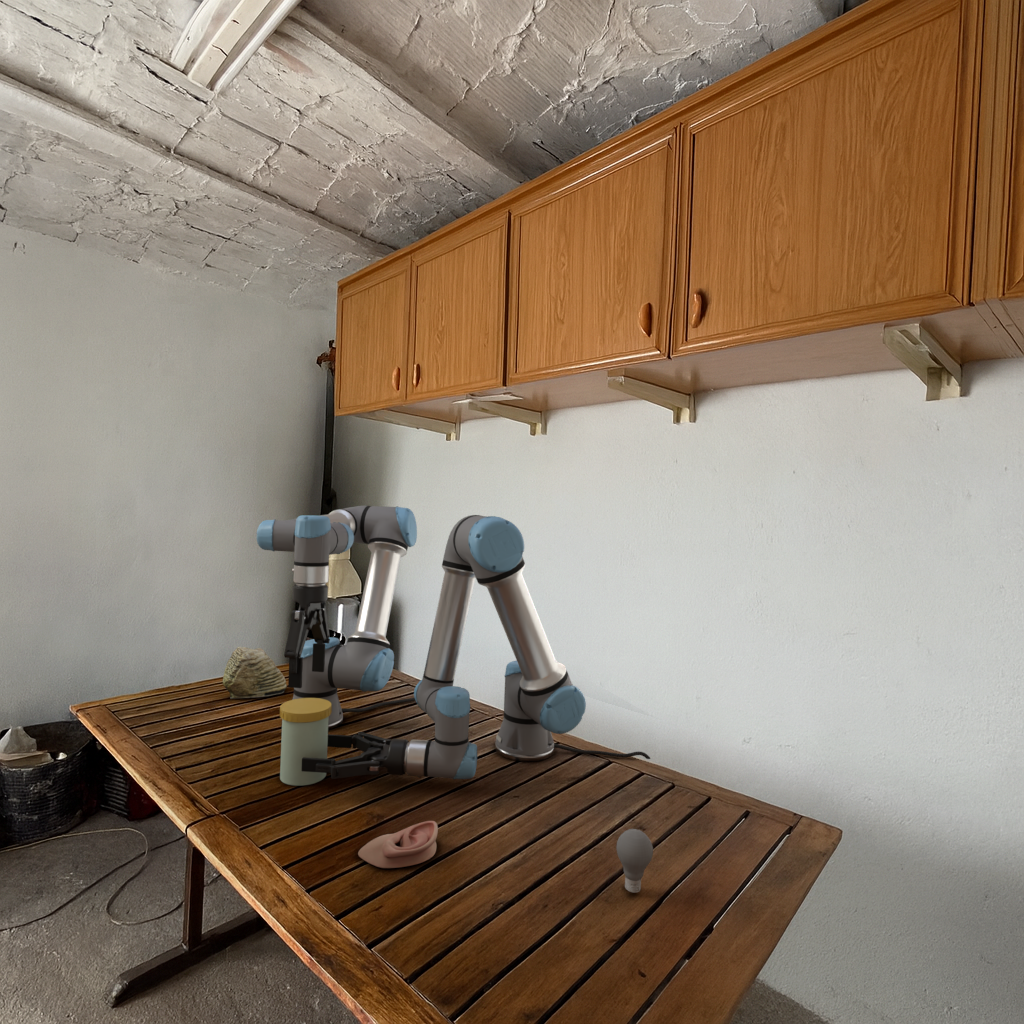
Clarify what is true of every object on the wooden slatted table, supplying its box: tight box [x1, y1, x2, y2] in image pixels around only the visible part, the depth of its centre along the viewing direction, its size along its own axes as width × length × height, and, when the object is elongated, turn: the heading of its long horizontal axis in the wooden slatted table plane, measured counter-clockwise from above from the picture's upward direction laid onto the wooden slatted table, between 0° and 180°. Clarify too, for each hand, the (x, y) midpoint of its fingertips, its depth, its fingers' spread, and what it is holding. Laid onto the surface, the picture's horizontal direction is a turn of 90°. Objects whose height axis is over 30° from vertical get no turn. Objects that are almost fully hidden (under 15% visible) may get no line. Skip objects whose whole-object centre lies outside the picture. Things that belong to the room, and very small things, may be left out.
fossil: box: [222, 646, 288, 699], centre depth 198 cm, size 9×18×15 cm, turn 132°
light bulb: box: [615, 828, 654, 894], centre depth 106 cm, size 6×6×10 cm
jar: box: [279, 716, 329, 787], centre depth 143 cm, size 10×10×16 cm
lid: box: [278, 698, 332, 723], centre depth 143 cm, size 11×11×2 cm
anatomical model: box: [357, 820, 439, 869], centre depth 114 cm, size 13×4×12 cm
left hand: (307, 679), depth 143 cm, fingers open, 12 cm apart
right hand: (313, 751), depth 142 cm, fingers open, 13 cm apart
